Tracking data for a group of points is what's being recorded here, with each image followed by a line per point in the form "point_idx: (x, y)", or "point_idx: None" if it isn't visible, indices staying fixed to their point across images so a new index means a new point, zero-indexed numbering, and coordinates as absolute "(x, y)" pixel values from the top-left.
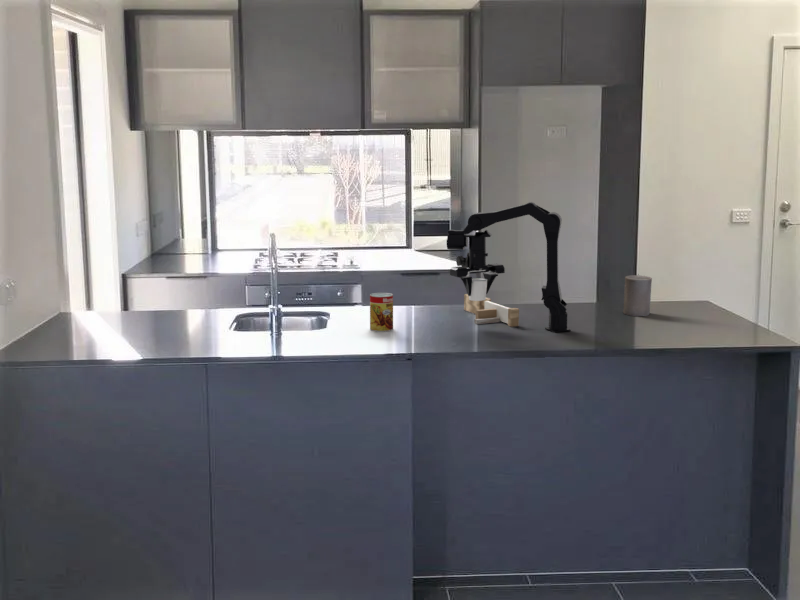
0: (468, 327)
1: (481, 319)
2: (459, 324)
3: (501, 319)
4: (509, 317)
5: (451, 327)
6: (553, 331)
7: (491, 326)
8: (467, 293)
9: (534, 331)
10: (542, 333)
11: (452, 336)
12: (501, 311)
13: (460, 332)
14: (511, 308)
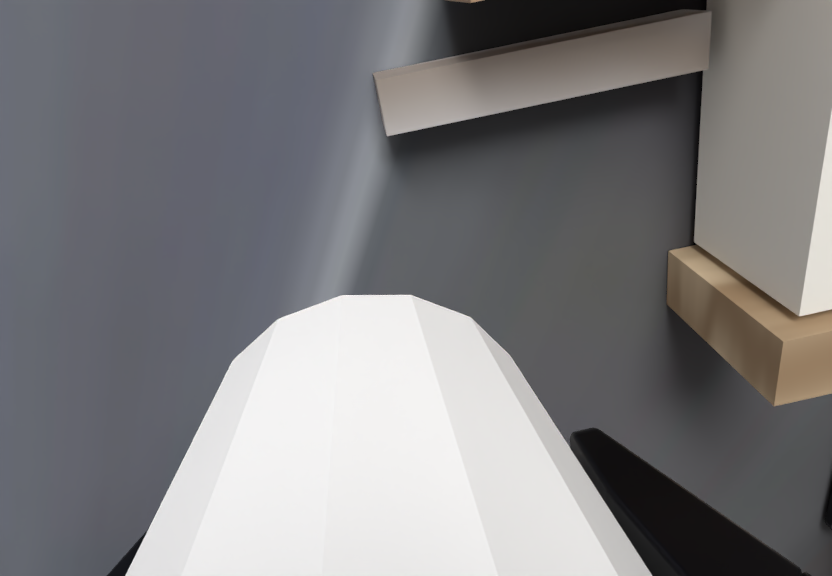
0: (254, 264)
1: (459, 115)
2: (173, 86)
3: (715, 83)
4: (715, 316)
5: (57, 233)
6: (827, 516)
7: (501, 259)
8: (121, 570)
9: (731, 472)
10: (740, 525)
11: (53, 554)
12: (781, 94)
13: (138, 445)
14: (821, 343)
